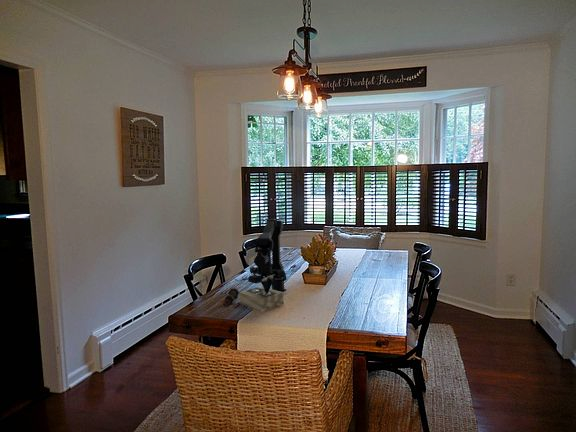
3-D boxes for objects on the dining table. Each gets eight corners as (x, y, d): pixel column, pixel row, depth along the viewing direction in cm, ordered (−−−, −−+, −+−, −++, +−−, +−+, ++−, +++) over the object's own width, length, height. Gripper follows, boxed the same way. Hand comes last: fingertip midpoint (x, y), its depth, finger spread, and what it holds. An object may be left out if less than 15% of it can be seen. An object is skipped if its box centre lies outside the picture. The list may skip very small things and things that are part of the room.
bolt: (226, 309, 213) (233, 299, 228) (234, 304, 212) (240, 294, 227) (220, 300, 213) (227, 290, 227) (228, 295, 212) (235, 285, 227)
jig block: (260, 297, 225) (260, 285, 224) (283, 303, 212) (283, 291, 211) (239, 303, 215) (239, 291, 214) (262, 311, 202) (262, 298, 202)
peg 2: (267, 302, 213) (267, 291, 212) (273, 303, 210) (272, 292, 209) (261, 304, 210) (261, 292, 210) (267, 305, 207) (266, 294, 207)
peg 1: (256, 299, 219) (255, 288, 219) (261, 300, 217) (260, 289, 216) (250, 301, 217) (249, 290, 216) (255, 302, 214) (254, 291, 213)
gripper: (268, 256, 220) (270, 285, 222) (240, 263, 207) (242, 294, 209) (283, 259, 212) (284, 289, 214) (254, 266, 199) (256, 298, 201)
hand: (266, 292), depth 210 cm, fingers closed, pressing on peg 2
